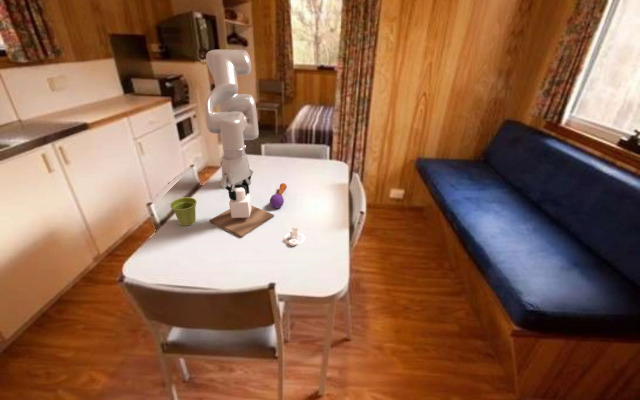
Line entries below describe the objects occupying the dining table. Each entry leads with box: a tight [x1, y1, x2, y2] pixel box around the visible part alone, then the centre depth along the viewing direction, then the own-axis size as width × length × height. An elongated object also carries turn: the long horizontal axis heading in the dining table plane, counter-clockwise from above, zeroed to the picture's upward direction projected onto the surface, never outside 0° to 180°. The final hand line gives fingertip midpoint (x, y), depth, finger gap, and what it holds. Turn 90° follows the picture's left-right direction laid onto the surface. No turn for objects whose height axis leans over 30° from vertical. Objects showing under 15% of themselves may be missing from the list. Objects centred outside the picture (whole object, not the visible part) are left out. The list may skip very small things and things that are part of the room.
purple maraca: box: [269, 182, 287, 209], centre depth 139 cm, size 6×6×20 cm
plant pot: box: [169, 196, 198, 227], centre depth 120 cm, size 9×9×9 cm
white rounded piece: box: [283, 227, 306, 247], centre depth 113 cm, size 9×8×4 cm
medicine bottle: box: [228, 184, 252, 218], centre depth 121 cm, size 7×7×12 cm
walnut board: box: [209, 204, 275, 238], centre depth 125 cm, size 18×18×1 cm
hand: (239, 195), depth 120 cm, fingers closed on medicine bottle, 6 cm apart
